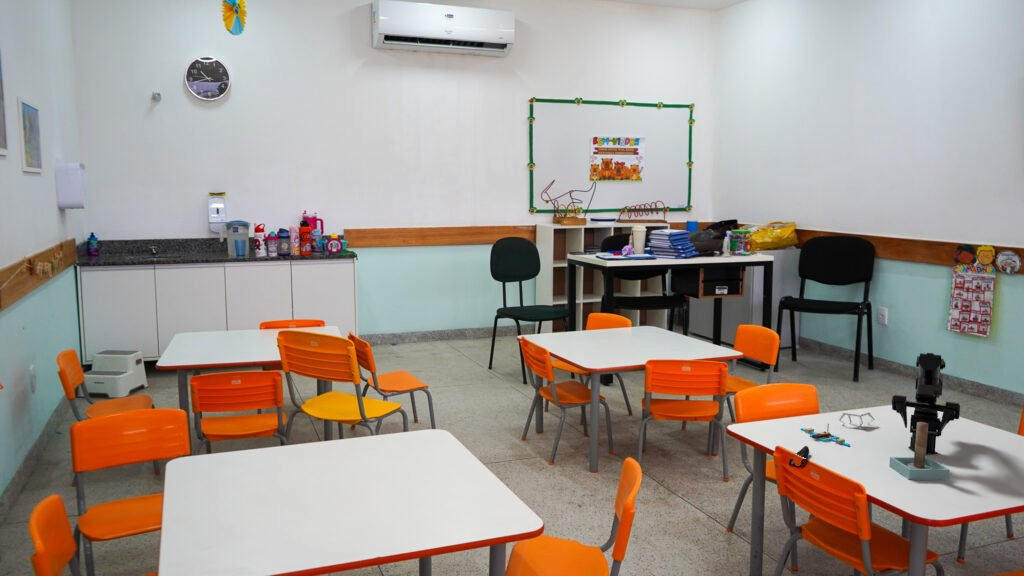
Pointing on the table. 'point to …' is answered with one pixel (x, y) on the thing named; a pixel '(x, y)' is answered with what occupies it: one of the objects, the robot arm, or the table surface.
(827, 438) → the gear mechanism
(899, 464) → the tray
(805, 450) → the electric trimmer
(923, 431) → the rod
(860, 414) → the eyeglasses
